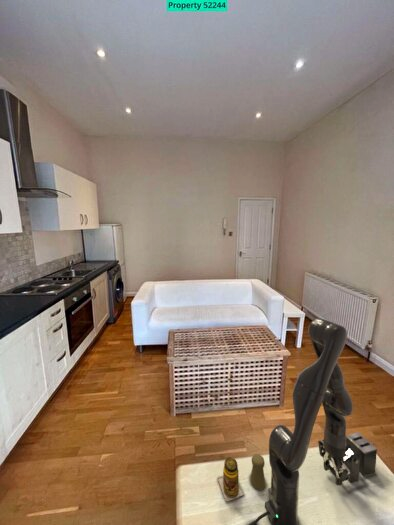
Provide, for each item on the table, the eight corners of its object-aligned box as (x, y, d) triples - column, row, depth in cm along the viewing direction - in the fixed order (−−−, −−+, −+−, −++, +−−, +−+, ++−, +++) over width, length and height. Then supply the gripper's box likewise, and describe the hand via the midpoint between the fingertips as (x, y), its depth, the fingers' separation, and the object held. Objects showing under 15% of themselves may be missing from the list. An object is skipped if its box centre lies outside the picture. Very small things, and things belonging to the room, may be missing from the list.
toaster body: (362, 479, 92) (364, 452, 91) (344, 459, 100) (346, 435, 99) (375, 474, 94) (377, 448, 92) (356, 455, 102) (357, 431, 101)
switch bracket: (348, 492, 87) (350, 463, 86) (331, 472, 95) (332, 445, 93) (367, 485, 89) (369, 457, 88) (349, 466, 97) (350, 439, 96)
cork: (265, 491, 88) (266, 466, 87) (250, 487, 89) (251, 463, 88) (264, 475, 94) (264, 452, 92) (249, 472, 95) (250, 449, 94)
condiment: (226, 502, 84) (226, 474, 83) (218, 479, 92) (218, 453, 91) (243, 495, 86) (243, 468, 85) (233, 473, 94) (233, 448, 93)
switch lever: (337, 480, 87) (335, 476, 86) (327, 467, 92) (325, 464, 91) (359, 460, 89) (357, 456, 89) (348, 449, 94) (346, 445, 93)
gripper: (313, 426, 94) (311, 462, 95) (343, 458, 80) (340, 499, 82) (327, 422, 96) (325, 457, 97) (359, 453, 82) (356, 493, 84)
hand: (332, 476), depth 89 cm, fingers closed on switch lever, 5 cm apart
